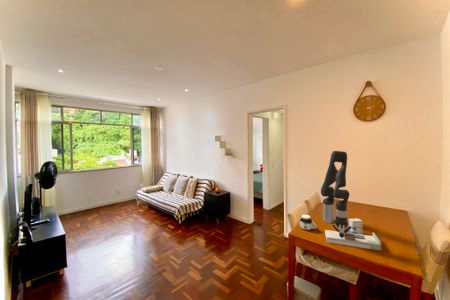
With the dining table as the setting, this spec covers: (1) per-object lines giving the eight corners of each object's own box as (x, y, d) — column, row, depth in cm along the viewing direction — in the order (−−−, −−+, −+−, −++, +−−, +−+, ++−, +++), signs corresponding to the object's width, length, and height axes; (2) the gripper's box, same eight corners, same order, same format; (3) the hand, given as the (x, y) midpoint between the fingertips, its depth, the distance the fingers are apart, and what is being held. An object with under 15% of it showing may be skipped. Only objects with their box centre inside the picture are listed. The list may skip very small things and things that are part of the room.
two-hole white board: (325, 232, 164) (325, 226, 164) (373, 239, 151) (373, 232, 151) (326, 242, 150) (326, 235, 149) (381, 250, 136) (381, 243, 136)
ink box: (352, 235, 158) (352, 221, 157) (348, 232, 163) (348, 218, 162) (362, 234, 158) (362, 220, 158) (358, 231, 164) (358, 218, 163)
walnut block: (344, 237, 151) (344, 232, 151) (353, 238, 149) (353, 233, 148) (345, 241, 145) (345, 236, 145) (355, 242, 143) (355, 237, 143)
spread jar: (298, 228, 174) (298, 215, 173) (305, 224, 181) (304, 212, 180) (311, 233, 165) (311, 219, 164) (318, 228, 172) (317, 215, 171)
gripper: (350, 214, 149) (350, 236, 150) (331, 212, 154) (331, 233, 155) (352, 218, 142) (352, 241, 143) (332, 216, 147) (332, 238, 148)
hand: (341, 237), depth 149 cm, fingers closed
